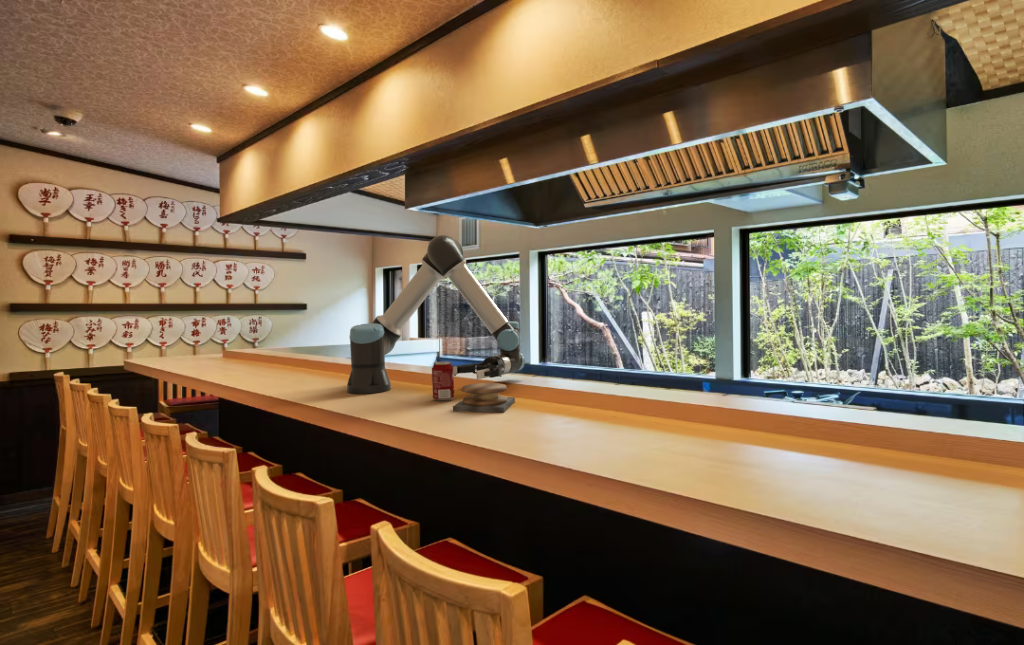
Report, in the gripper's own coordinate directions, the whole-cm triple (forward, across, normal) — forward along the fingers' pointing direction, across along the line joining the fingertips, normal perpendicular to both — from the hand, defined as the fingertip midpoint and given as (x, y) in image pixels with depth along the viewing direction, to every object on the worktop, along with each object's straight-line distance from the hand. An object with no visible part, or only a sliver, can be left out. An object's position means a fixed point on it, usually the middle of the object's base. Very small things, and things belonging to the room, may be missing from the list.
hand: (460, 374), depth 186 cm
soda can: (+9, 0, -7) cm, 12 cm away
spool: (+12, -18, -7) cm, 23 cm away
